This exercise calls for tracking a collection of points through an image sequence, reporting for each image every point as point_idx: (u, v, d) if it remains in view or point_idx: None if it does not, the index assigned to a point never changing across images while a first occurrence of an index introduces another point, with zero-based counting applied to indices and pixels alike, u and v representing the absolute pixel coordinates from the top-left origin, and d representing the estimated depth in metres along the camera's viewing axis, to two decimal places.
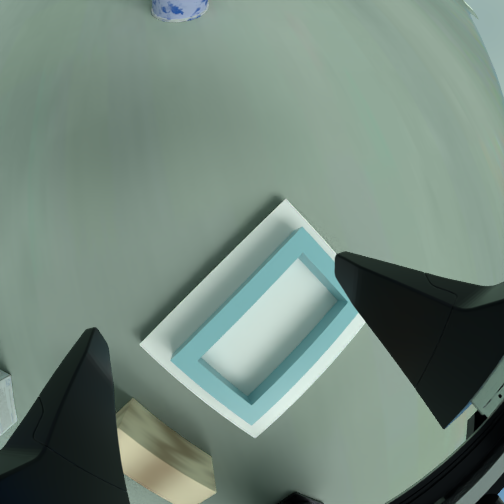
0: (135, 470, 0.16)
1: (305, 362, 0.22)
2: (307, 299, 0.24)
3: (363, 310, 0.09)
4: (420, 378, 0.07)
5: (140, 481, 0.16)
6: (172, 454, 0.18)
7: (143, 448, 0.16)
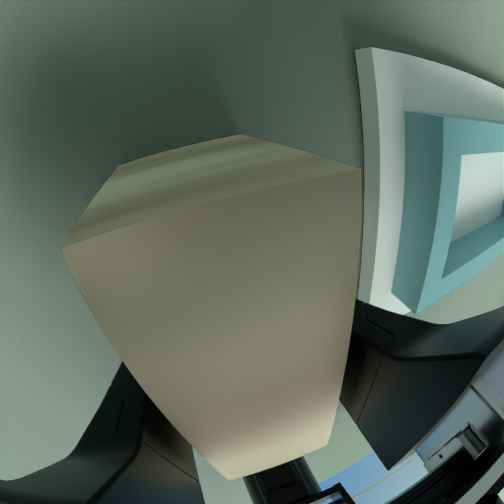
0: (218, 395, 0.05)
1: (486, 257, 0.13)
2: (496, 191, 0.14)
3: None
4: (359, 416, 0.07)
5: (194, 428, 0.05)
6: None
7: (349, 308, 0.05)
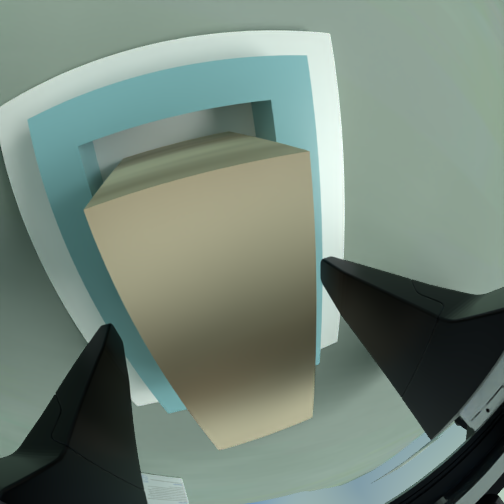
0: (203, 344, 0.06)
1: None
2: None
3: (348, 317, 0.09)
4: (406, 387, 0.07)
5: (183, 380, 0.06)
6: None
7: (312, 268, 0.06)
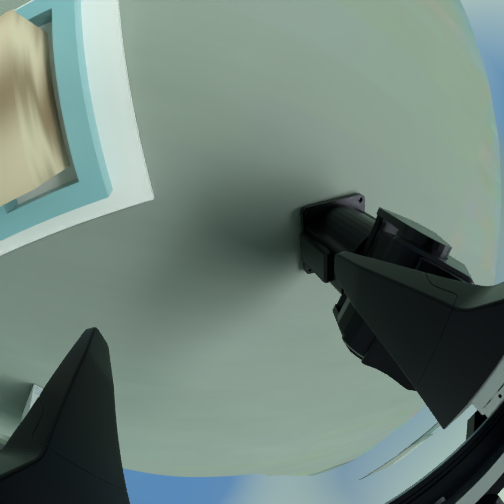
0: None
1: (69, 87, 0.11)
2: None
3: (363, 310, 0.09)
4: (420, 377, 0.07)
5: None
6: (29, 97, 0.09)
7: (8, 48, 0.06)
